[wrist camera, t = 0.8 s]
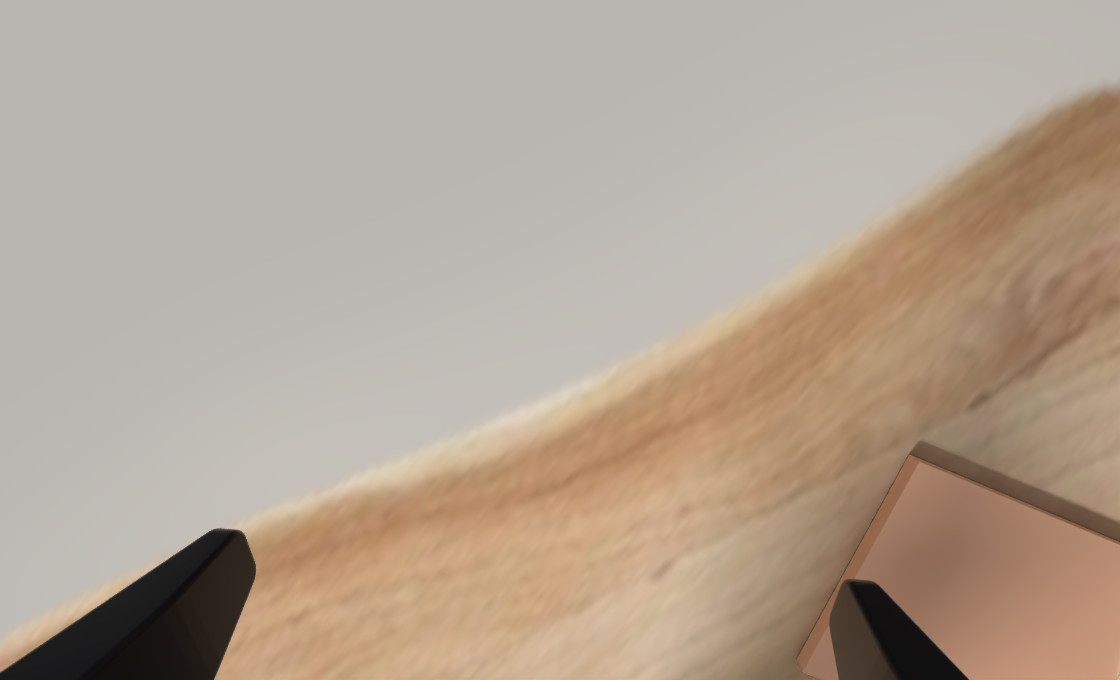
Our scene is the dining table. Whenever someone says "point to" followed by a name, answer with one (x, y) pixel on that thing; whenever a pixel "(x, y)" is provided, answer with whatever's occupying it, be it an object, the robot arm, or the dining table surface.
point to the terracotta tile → (987, 581)
